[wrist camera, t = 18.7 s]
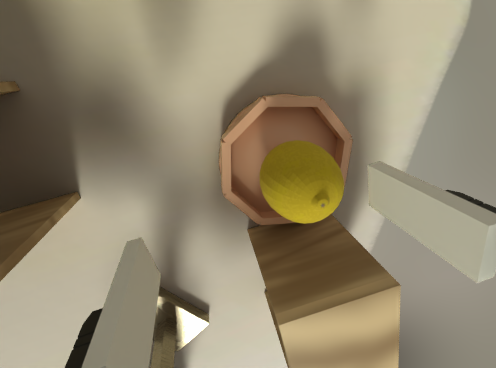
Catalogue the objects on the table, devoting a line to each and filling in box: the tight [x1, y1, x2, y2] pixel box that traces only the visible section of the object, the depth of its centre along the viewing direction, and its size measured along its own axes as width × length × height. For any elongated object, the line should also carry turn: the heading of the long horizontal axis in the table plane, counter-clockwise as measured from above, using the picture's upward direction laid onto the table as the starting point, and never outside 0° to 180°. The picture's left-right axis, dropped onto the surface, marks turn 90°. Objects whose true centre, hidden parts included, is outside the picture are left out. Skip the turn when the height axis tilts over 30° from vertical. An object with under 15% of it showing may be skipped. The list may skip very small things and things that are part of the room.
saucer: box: [219, 94, 353, 225], centre depth 22 cm, size 11×11×2 cm
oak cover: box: [247, 214, 400, 368], centre depth 23 cm, size 9×8×11 cm
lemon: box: [259, 140, 344, 224], centre depth 19 cm, size 6×6×8 cm
